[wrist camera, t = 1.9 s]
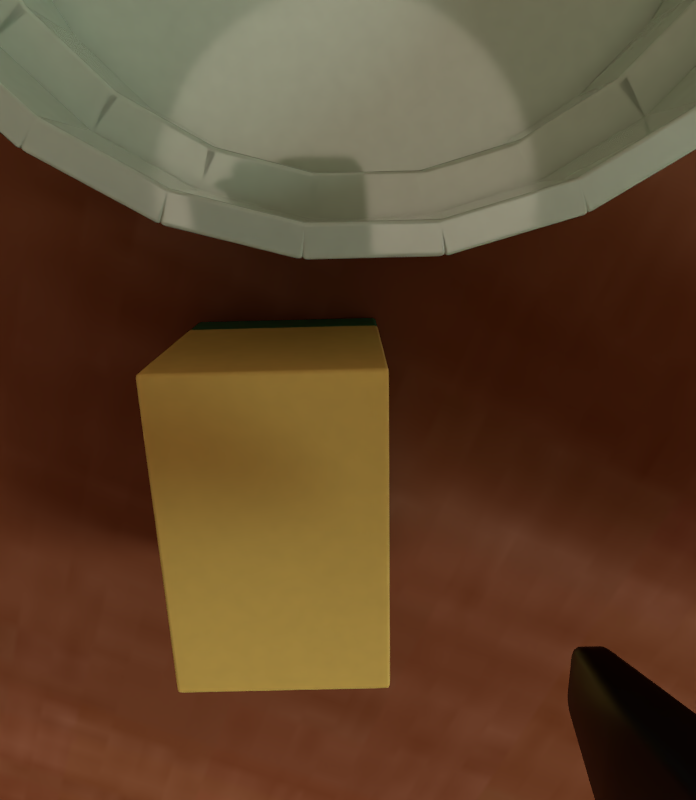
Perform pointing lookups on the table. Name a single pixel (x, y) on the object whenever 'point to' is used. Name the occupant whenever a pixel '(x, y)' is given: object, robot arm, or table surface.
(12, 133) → the bowl
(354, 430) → the sponge
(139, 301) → the table surface
